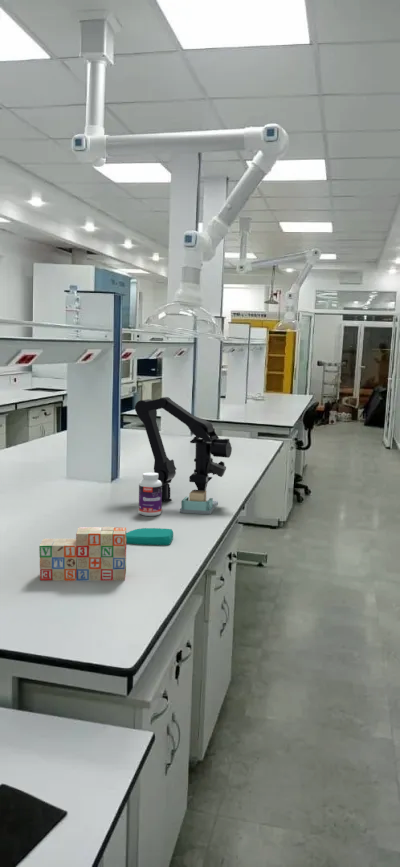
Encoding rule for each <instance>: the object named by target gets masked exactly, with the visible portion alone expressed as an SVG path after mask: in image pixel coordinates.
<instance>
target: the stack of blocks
mask: <svg viewBox="0 0 400 867" xmlns="http://www.w3.org/2000/svg"><path fill="white" fill-rule="evenodd" d="M126 533H127V527H114V526H102V527H101V526H95V527H94V526H91V527H89V526H85V527H84V526H82V527H81V526H78V528H77V531H76V534H75V538H42V540H41V543H40V544H39V549H38V550H39V552H38V553H39V580H41V581H55V582H56V581H60V582H63V581H67V582H68V581H69V582H70V581H72V582H73V581H74V582H76V581H125V580H126V574H127V543H126ZM41 581H40V582H41Z"/></svg>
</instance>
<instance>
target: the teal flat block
mask: <svg viewBox="0 0 400 867" xmlns="http://www.w3.org/2000/svg"><path fill="white" fill-rule="evenodd" d="M173 540H174V531H173V529H172V528H160V527H159V528H158V527H156V528H155V527H148V528H147V527H142V528H137V529H133V530H130V531H128V532H126V545H128V544H130V545H139V546H140V545H143V546H169V545H171V543H172V541H173Z"/></svg>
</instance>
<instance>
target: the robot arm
mask: <svg viewBox="0 0 400 867" xmlns="http://www.w3.org/2000/svg"><path fill="white" fill-rule="evenodd" d="M161 409H163V410H165V411H166V412H167V413H169V414H170V415H171V416H173V417H175V418H176V419H177V420H178V421H180V422H182V424H185V425H186V427H187V428H188V429H189V431H190V432H191V433H192V434H193V435H194V437H193V439H191V440H190V441H189V442H190V444H195V455H194V456H195V457H194V459H193V461H194V462H195V463H194V464H195V466H194V469H193V473H192V474H191V475H190V476H189V482H190V483H194V484H195V487H196V490H205V491H206V492H207V486H208V484H209V482H210V481H211V480H212V479H213V477H212V476H210V475H209V474H212V475H213V476H214V475H216V476H218V477H220V478H223V476H224V474H225V472H226V469H227V466H226V465H225V462H224V461H220V462H218V463H217V462H214V460H213V457H216V458H227V459H228V458H230V457H231V454H232V450H233V449H232V448H233V447H232V444H231V442H230V439H229V438H220V437H219V436H218V434H217V433H216V432H215V430H214V425H213V423H212V422H210V421H209V420H206V419H205V418H204V419H203V418H202V417H197V416H195V415H194V414H192V413H191V412H190V411H188V410H187V409H185V408H183V407H182V405H180V404H177V403H176V402H175V401H173V400H172V399H171V398H170V397H169V396H162V397H159V398H157V399H141V400H138V401H137V402H136V403H135V405H134V410H135V413H136V415H137V418H138V419H139V420H140V422H142V424H143V425H144V428H145V432H146V435H147V439H148V442H149V445H150V448H151V452H152V455H153V459H154V462H153V463H154V464H153V473H158V480H160V481H161V482H162V503H163V502H169V501H172V498H171V487H170V483H172V480H173V479H174V478H175V476H176V474H177V471H176V470H177V467H176V466H175V460H174V459H169V457H168V456H167V452H166V450H165V446H164V443H163V440H162V436H161V433H160V429H159V426H158V424H157V423H158V422H157V416H158V411H157V410H161ZM212 456H213V457H212Z"/></svg>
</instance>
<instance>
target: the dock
mask: <svg viewBox="0 0 400 867" xmlns="http://www.w3.org/2000/svg"><path fill="white" fill-rule="evenodd" d="M180 504H181V506H180V509H179V513H184V514H198V515H199V514H201V515H211V514H212V513H213V512H214V511H215V509H216V508H217V506H218V505H219V502H218V500H217V501H215V500H214V498H213V497H210V498H209V499H208V500H206V502H201V501H189V496H185V497H184V498H183V499H182V500H181V503H180Z"/></svg>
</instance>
